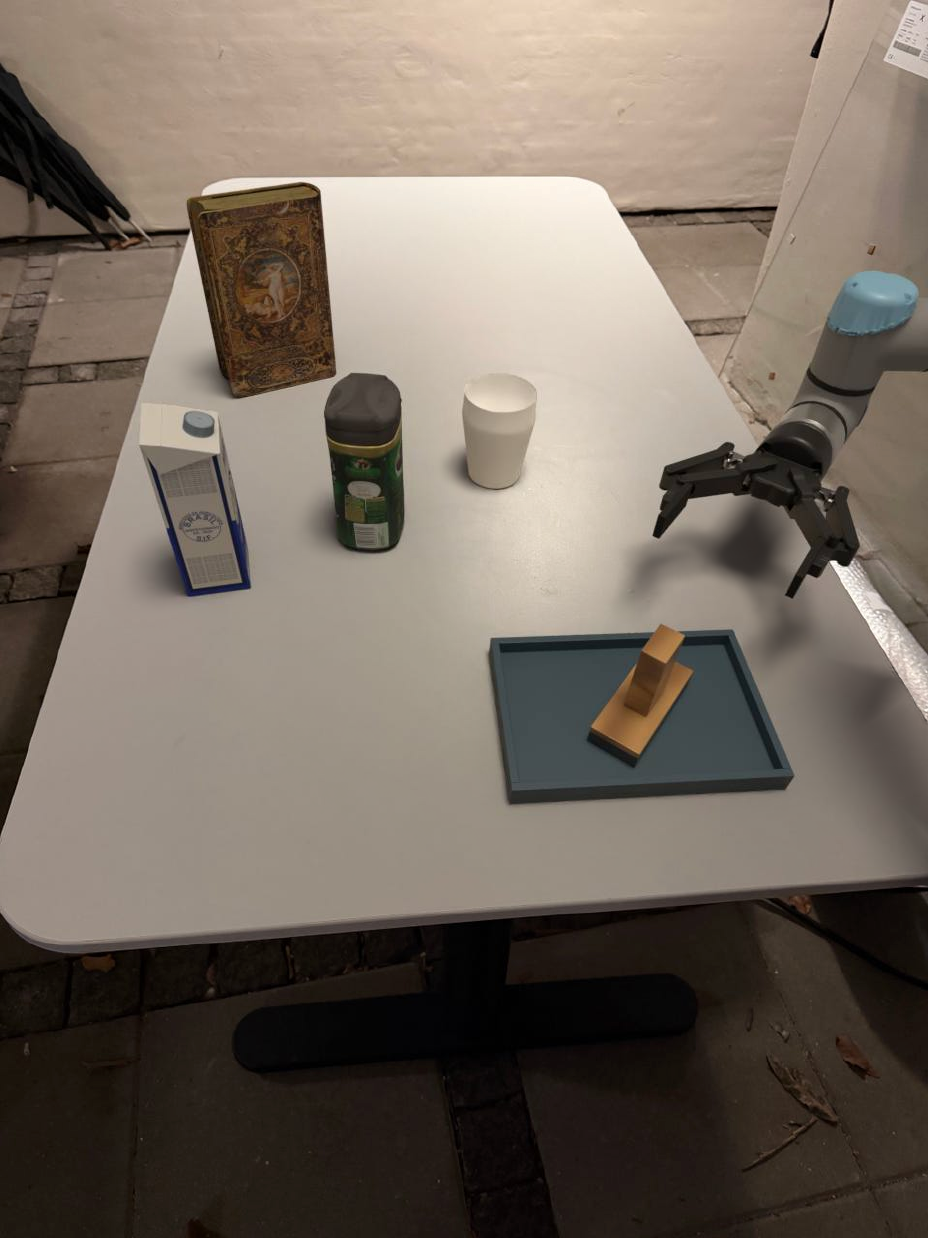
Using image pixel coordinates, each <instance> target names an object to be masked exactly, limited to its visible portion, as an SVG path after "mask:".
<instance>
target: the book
mask: <svg viewBox="0 0 928 1238" xmlns="http://www.w3.org/2000/svg"><path fill="white" fill-rule="evenodd" d="M321 193H322V191H321V189H320V188H319V187H318V186H316V185H315V184H312V183H310V182H306V181H305V182H304V181H298V182H290V183H284V184H276V185H268V186H262V187H261V186H260V187H255V188H247V189H240V190H233V191H232V190H231V191H227V192H226V191H225V192H219V193H218V192H217V193H211V194H204V195H203V194H202V195H197V196H190V197H188V198H187V200H186V210H187V215H188V221H189V225H190V230H191V236H192V241H193V245H194V250H195V255H196V260H197V264H198V265H197V266H198V269H199V275H200V280H201V285H202V290H203V294H204V295H203V296H204V299H205V300H204V301H205V304H206V305H205V306H206V309H207V314H208V320H209V324H210V328H211V329H210V330H211V333H212V338H213V343H214V348H215V352H216V357H217V362H218V368H219V371H220V374H221V376H222V377H223V379H224V380H226V381H229V386H230V389H231V392H232V394H233V395H234V396H235V397H236V398H244V397H249V396H255V395H259V394H264V393H268V392H273V391H277V390H282V389H286V388H289V387H293V386H294V387H295V386H299V385H303V384H308V383H310V382H315V381H320V380H323V379H329V378H332V377H335V376H336V374H337V363H336V353H335V350H336V349H335V339H334V330H333V328H334V327H333V317H332V305H331V293H330V284H329V283H330V282H329V271H328V261H327V260H328V259H327V250H326V238H325V237H326V236H325V226H324V216H323V215H324V214H323V203H322V194H321Z"/></svg>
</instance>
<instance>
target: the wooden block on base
mask: <svg viewBox="0 0 928 1238" xmlns="http://www.w3.org/2000/svg"><path fill="white" fill-rule="evenodd" d="M653 632H654V634H653V635H652V636H651V638H650V639H649V641H648V642H647V643H646V645H645V646H644V647H643V649H642V650H641V653H640V656H639V659H638V662H637V663H636V665H635V666H634V668H633V669H632V670H631V672H630V673H629V674H628V676H627V677H626V679H625V680H624V681H623V683H622V684H621V686H620V687H619V688H618V690H617V691H616V692H615V694H614V695H613V697H612V698H611V699H610V701H609V702H608V703H607V705H606V706H605V708H604V709H603V710H602V712H601V713H600V715H599V716H598V717H597V719H596V720H595V721H594V723H593V724H592V726H591V728H590V731H589V735H588V738H587V741H589V742H591V743H592V744H594V745H596V746H598V747H599V748H601V749H603V750H605V751H606V752H608V753H610V754H611V755H613V756H615V757H617V758H618V759H620V760H622V761H624V762H625V763H627V764H629V765H631V766H632V767H635V766H636V765H637V763H638V761H639V760H640V758H641V757H642V755H643V754H644V752H645V751H646V749H647V747H648V746H649V744H650V743H651V741H652V740H653V738H654V737H655V735H656V734H657V732H658V730H659V729H660V727H661V726H662V724H663V723H664V721H665V720H666V718H667V717H668V715H669V713H670V712H671V710H672V709H673V707H674V706H675V704H676V703H677V701H678V700H679V698H680V696H681V695H682V693H683V692H684V690H685V689H686V687H687V686H688V684H689V681H690V679H691V676H692V674H693V670H691V669H689V668H687V667H685V666H683V665H681V664H679V663H678V662H676V659H677V656H678V654H679V651H680V648H681V646H682V643H683V641H684V638H685V635H683V634H681V633H679V632H677V630H675V629H673V628H671V627H669V626H668V625H665V624H663V623H660V624H659V625H658V627H657V628H656V630H655V631H653Z"/></svg>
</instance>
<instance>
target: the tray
mask: <svg viewBox="0 0 928 1238" xmlns="http://www.w3.org/2000/svg"><path fill="white" fill-rule="evenodd" d="M676 631H677V630H676ZM654 632H655V631H650V632H649V631H647V632H644V631H643V632H617V633H592V634H588V633H587V634H563V635H561V634H560V635H534V636H505V637H503V636H502V637H490V640H489V651H488V653H489V655H488V656H489V660H490V668H491V677H492V683H493V684H492V685H493V689H494V690H493V692H494V698H495V706H496V713H497V719H498V720H497V721H498V727H499V728H498V729H499V734H500V742H501V743H500V744H501V749H502V757H503V764H504V772H505V778H506V786H507V794H508V801H509V804H511V805H512V804H529V803H547V802H564V801H566V802H567V801H568V802H569V801H581V800H582V801H583V800H585V801H587V800H605V799H620V798H621V799H622V798H623V799H624V798H640V797H641V798H642V797H658V796H660V797H661V796H675V795H676V796H677V795H697V794H712V793H713V794H714V793H733V792H750V791H751V792H753V791H769V790H770V791H771V790H786V789H787V788H788V786H789V785H790V784H791V782H792V781H793V779H794V778H795V772H794V771H793V768H792V766H791V763H790V762H789V759H788V757H787V754H786V752H785V750H784V747H783V745H782V742H781V740H780V738H779V735H778V733H777V731H776V728H775V726H774V724H773V721H772V718H771V717H770V714H769V712H768V709H767V707H766V704H765V702H764V700H763V697H762V695H761V693H760V690H759V688H758V686H757V683H756V681H755V678H754V676H753V674H752V670H751V669H750V667H749V664H748V662H747V660H746V657H745V655H744V652H743V649H742V648H741V645H740V643H739V640H738V638H737V636H736V633H735V631H734V629H732V628H731V629H729V628H728V629H711V630H710V629H704V630H703V629H701V630H678V631H677V632H679V633H681V634H683V635H685V638H684V641H683V643H682V646H681V648H680V651H679V654H678V656H677V659H676V662H678V663H679V664H681V665H683V666H685V667H687V668H689V669H691V670H693V674H692V676H691V679H690V681H689V684H688V686H687V687H686V689H685V690H684V692H683V693H682V695H681V696H680V698H679V700H678V701H677V703H676V704H675V706H674V707H673V709H672V710H671V712H670V713H669V715H668V717H667V718H666V720H665V721H664V723H663V724H662V726H661V727H660V729H659V730H658V732H657V734H656V735H655V737H654V738H653V740H652V741H651V743H650V744H649V746H648V747H647V749H646V751H645V752H644V754H643V755H642V757H641V758H640V760H639V761H638V763H637V765H636V766H635V767H632V766H631V765H629V764H627V763H625V762H624V761H622V760H620V759H618V758H617V757H615V756H613V755H611V754H610V753H608V752H606V751H605V750H603V749H601V748H599V747H598V746H596V745H594V744H592V743H591V742H589V741H587V738H588V735H589V731H590V728H591V726H592V724H593V723H594V721H595V720H596V719H597V717H598V716H599V715H600V713H601V712H602V710H603V709H604V708H605V706H606V705H607V703H608V702H609V701H610V699H611V698H612V697H613V695H614V694H615V692H616V691H617V690H618V688H619V687H620V686H621V684H622V683H623V681H624V680H625V679H626V677H627V676H628V674H629V673H630V672H631V670H632V669H633V668H634V666H635V665H636V663H637V662H638V659H639V656H640V653H641V650H642V649H643V647H644V646H645V645H646V643H647V642H648V641H649V639H650V638H651V636H652V635H653V634H654Z"/></svg>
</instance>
